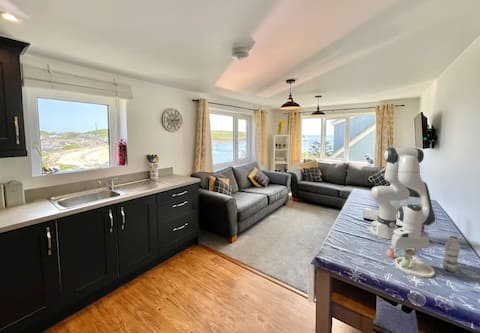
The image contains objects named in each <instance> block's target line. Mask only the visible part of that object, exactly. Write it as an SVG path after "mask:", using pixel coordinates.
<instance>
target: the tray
mask: <svg viewBox="0 0 480 333" xmlns="http://www.w3.org/2000/svg"><path fill="white" fill-rule="evenodd" d="M402 258H405V256H399V257H396V258H395V259H394V265H395V267H397V269H399V270H400V271H402V272H405V273H406V274H408V275H410V276H411V275H412V276H414V277H418V278H425V279H426V278H432V277H434V276H435V275H436V272H435V270H434V267H432V266H431V265H429V264H428V263H427V262H424V261H422V260H420V259H417V258H413V257H412V259H409V260H410V265H409V269H404V268H402V267H401V265H402Z"/></svg>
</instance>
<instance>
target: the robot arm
mask: <svg viewBox="0 0 480 333" xmlns="http://www.w3.org/2000/svg"><path fill="white" fill-rule="evenodd" d="M383 153H384V154H383V157H384V161H385V162H386V166H385V171H384V176H383V177H384V180H385V181H387V182H388V183H390V185H377V186H376V185H375V186H373V187H371V191H370V196H371V197H372V199H373V200H375V201H376V203H377V205H378V207H379V209H378V215H377V217H376V219H375V220H373V221H372V222H371V223H370V225H368V226H367V228H366V229H367V230H368V231H369V232H370V233H371V234H372V235H373V236H375V237H379V238H381V239H387V240H391V243H390V244H391V246H392V247H394V248H395V249H401V250H402V254H403V255H404V256H405V255H407V252H406V251H405V250H406V248H408V249H412V250H413V255H412V256H416V253H417V252H418V251H419V249H427V250H428V249H429V248H430V234H429V233H428V232H422V230H423V229H422V225H423V226H431V225H432V224H434V223H435V222H436V214H435V212H434V209H433V205H432V198H431V196H430V195H431V194H430V191H429V187H428V184H427V182H425V181H423V179H422V178H421V168H420V163H422V162H423V161H424V157H425V154H424V151H423V150H422V149H421V148H418V147H405V146H404V147H388V148H387V149H385V151H384V152H383ZM409 189H411V190H413V191H415V192H416V193H418V195H419V197H420V202H421V206H419V205H417V204H406V206H404V205H403V206H400V207H398V208H396V207H395V206H394V205H392V204H391V202H394V201H395V202H402V201H407V200H408V199H409V198H410V190H409ZM397 219H398V220H399V221H400V222H402V223H403V224H402V227H398V225H397Z"/></svg>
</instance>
